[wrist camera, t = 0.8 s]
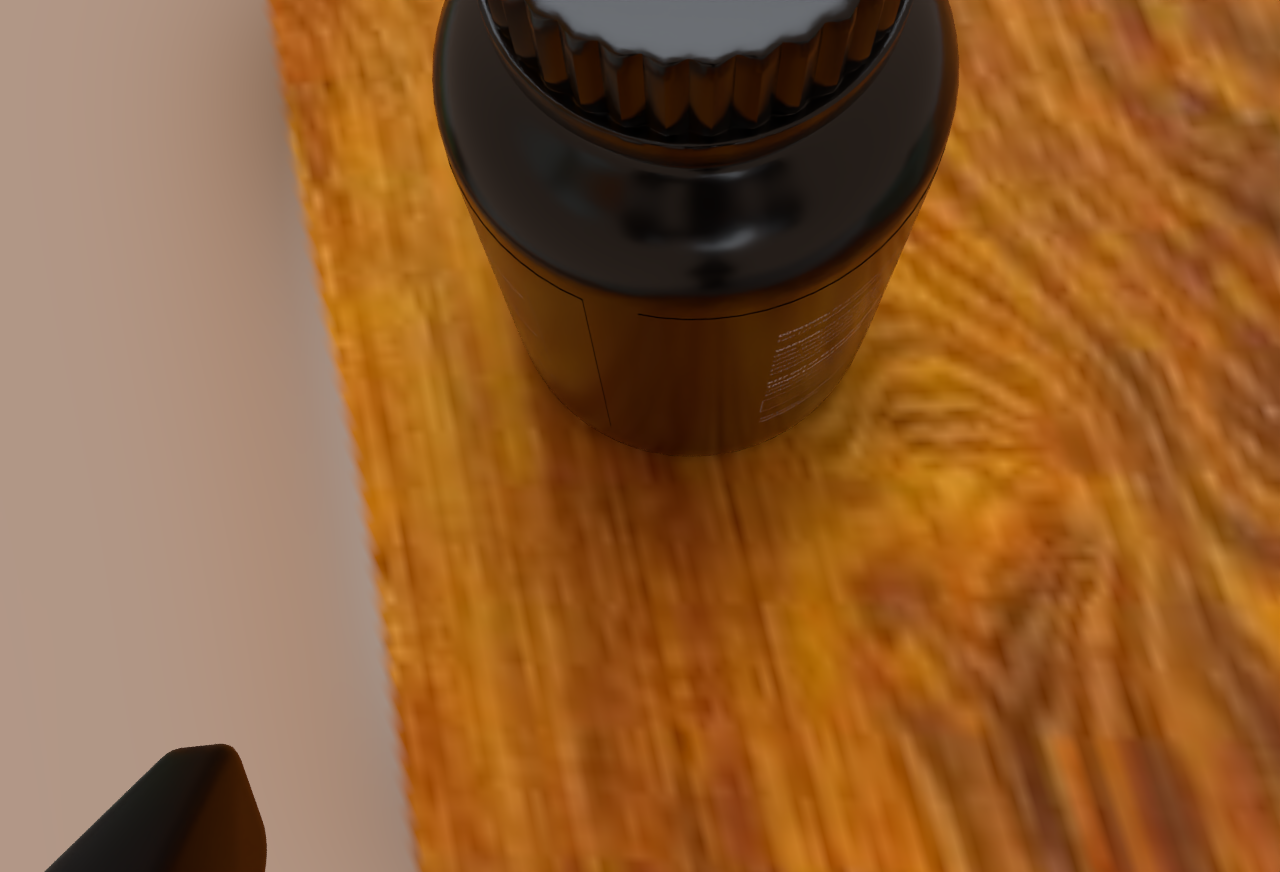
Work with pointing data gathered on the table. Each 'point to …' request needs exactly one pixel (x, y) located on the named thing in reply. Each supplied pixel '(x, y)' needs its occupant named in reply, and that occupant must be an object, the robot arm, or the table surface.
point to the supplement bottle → (694, 193)
